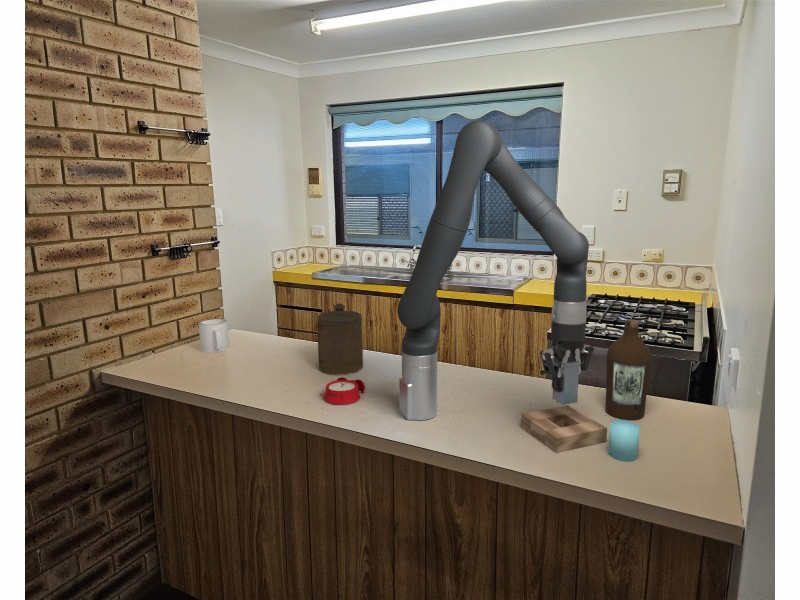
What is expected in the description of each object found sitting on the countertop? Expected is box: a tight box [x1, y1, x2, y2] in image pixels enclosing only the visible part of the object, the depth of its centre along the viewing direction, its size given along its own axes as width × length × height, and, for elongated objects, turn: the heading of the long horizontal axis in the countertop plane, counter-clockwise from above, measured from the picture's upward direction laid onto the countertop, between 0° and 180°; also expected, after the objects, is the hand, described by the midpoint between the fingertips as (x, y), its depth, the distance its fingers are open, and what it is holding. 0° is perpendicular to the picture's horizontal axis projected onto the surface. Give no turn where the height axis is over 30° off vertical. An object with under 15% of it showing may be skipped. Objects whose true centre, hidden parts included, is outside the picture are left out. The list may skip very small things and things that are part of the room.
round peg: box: [607, 419, 641, 463], centre depth 112 cm, size 6×6×7 cm
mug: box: [198, 318, 230, 354], centre depth 192 cm, size 14×10×11 cm
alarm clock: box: [319, 376, 366, 406], centre depth 147 cm, size 10×6×15 cm
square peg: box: [551, 360, 580, 406], centre depth 120 cm, size 4×4×10 cm
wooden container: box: [317, 303, 364, 375], centre depth 170 cm, size 15×15×22 cm
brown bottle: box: [604, 318, 653, 421], centre depth 132 cm, size 11×11×25 cm
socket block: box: [520, 404, 608, 454], centre depth 122 cm, size 14×14×4 cm
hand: (565, 389), depth 120 cm, fingers closed on square peg, 4 cm apart
